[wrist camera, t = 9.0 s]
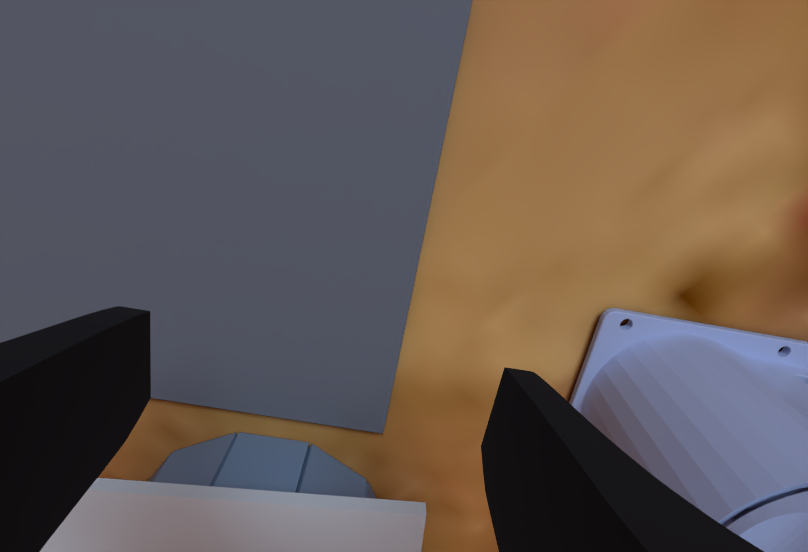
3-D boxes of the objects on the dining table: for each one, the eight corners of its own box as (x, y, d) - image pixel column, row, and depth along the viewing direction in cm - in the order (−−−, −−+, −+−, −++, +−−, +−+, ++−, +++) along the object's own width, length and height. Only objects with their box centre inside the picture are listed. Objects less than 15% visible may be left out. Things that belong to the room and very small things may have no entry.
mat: (471, 0, 17) (472, -2, 16) (383, 427, 23) (383, 433, 23) (-81, -116, 16) (-93, -121, 15) (-13, 366, 22) (-20, 371, 22)
